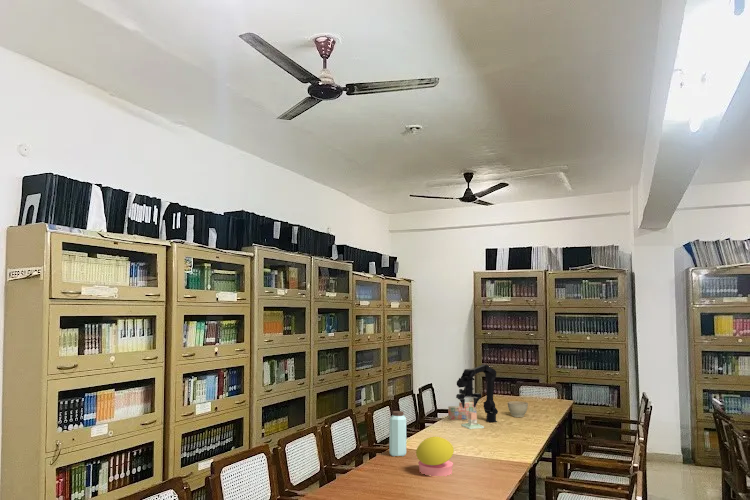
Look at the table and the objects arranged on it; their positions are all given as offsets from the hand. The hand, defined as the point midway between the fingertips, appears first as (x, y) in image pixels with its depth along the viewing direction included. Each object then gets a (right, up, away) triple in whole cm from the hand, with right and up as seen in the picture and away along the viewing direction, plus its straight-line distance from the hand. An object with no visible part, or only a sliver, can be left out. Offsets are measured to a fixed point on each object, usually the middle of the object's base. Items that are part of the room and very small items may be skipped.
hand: (469, 407), depth 428 cm
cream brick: (+2, -11, -6) cm, 13 cm away
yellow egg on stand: (-38, -1, -123) cm, 129 cm away
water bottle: (-57, -4, -88) cm, 104 cm away
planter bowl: (+46, -17, +37) cm, 61 cm away
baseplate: (+2, -12, -6) cm, 14 cm away
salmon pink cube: (+2, -7, -5) cm, 9 cm away
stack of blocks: (-1, -16, +26) cm, 31 cm away
